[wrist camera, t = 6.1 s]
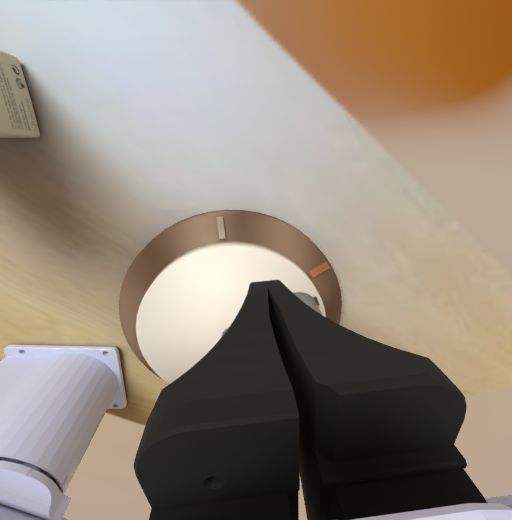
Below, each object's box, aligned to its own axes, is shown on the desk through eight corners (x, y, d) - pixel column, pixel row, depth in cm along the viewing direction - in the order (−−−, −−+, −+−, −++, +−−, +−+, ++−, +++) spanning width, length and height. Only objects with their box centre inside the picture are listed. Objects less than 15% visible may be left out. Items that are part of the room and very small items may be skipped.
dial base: (136, 386, 25) (130, 399, 24) (111, 199, 18) (101, 203, 16) (315, 387, 27) (318, 399, 26) (360, 219, 20) (368, 224, 18)
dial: (203, 405, 25) (195, 464, 20) (103, 293, 19) (59, 338, 14) (342, 349, 23) (369, 398, 18) (278, 206, 17) (294, 225, 13)
